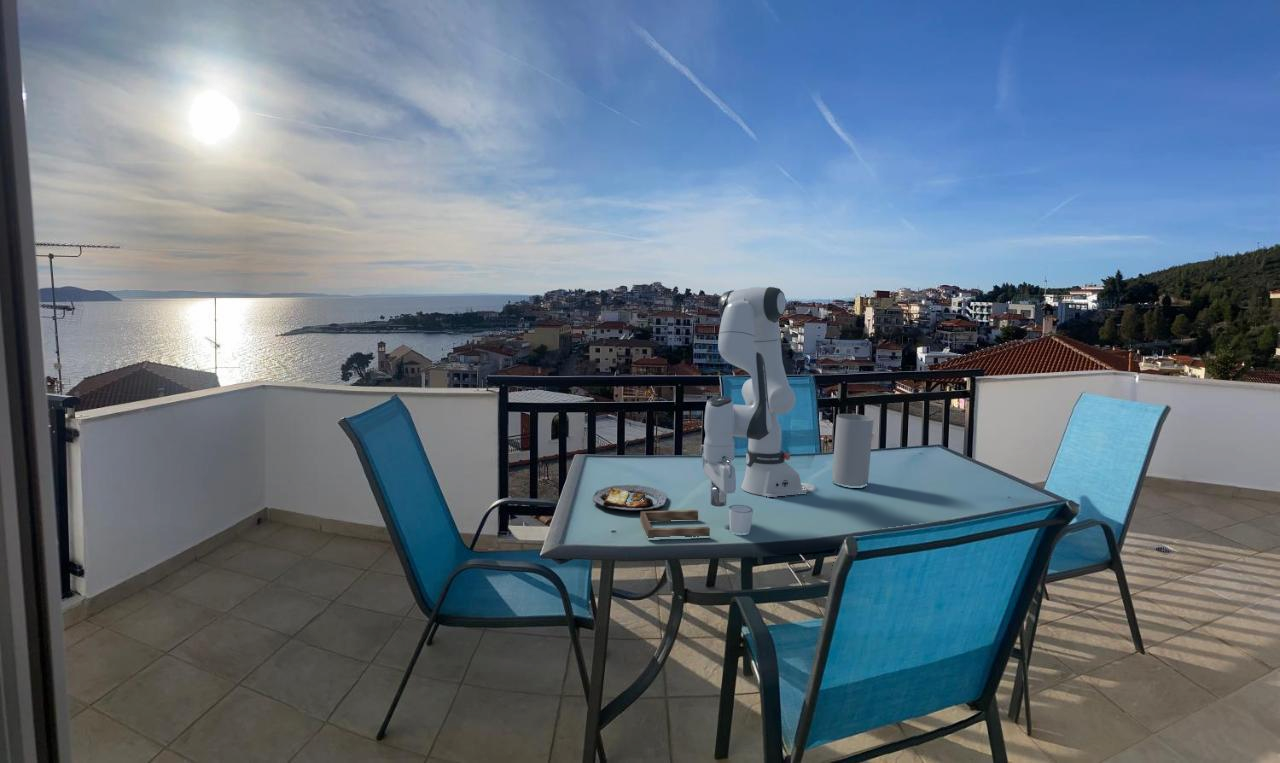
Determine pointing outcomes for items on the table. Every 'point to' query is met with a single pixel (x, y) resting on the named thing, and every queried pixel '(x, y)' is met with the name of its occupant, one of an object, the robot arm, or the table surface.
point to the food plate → (620, 493)
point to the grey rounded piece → (716, 497)
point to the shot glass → (740, 518)
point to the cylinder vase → (852, 449)
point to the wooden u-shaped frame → (669, 516)
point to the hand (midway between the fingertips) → (718, 498)
